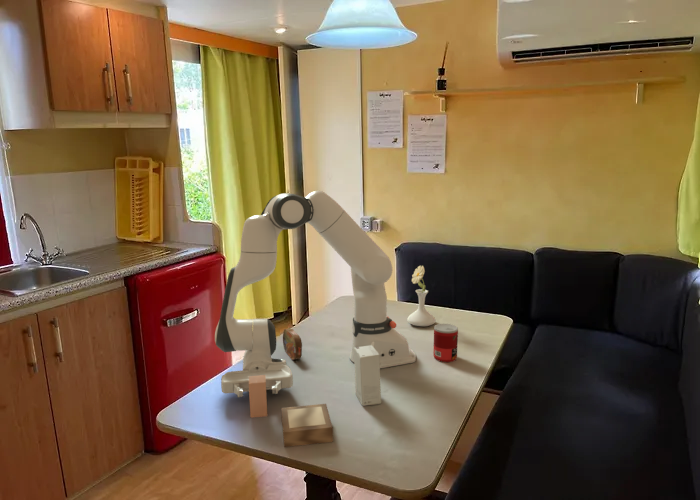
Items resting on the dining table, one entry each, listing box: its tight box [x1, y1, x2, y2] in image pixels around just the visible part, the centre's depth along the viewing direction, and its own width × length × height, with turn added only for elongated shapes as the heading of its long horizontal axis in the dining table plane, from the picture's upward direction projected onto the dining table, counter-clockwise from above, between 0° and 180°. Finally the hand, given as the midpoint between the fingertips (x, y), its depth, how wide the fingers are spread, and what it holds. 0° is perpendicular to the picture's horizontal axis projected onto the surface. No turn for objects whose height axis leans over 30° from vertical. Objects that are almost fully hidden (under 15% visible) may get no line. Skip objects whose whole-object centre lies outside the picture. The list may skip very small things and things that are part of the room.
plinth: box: [280, 403, 334, 448], centre depth 136 cm, size 12×12×4 cm
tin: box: [282, 328, 303, 361], centre depth 183 cm, size 15×3×8 cm, turn 23°
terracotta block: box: [248, 375, 268, 419], centre depth 144 cm, size 4×4×10 cm
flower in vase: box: [407, 265, 436, 327], centre depth 210 cm, size 13×11×25 cm
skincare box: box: [353, 345, 382, 407], centre depth 151 cm, size 8×6×15 cm
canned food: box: [433, 323, 459, 363], centre depth 179 cm, size 8×8×11 cm
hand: (257, 393), depth 145 cm, fingers open, 8 cm apart
